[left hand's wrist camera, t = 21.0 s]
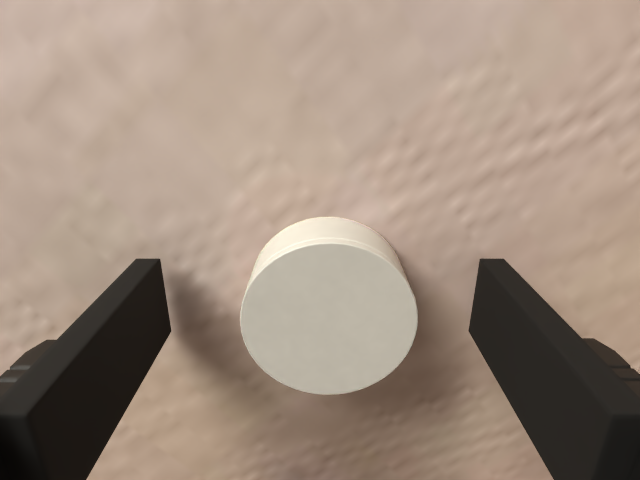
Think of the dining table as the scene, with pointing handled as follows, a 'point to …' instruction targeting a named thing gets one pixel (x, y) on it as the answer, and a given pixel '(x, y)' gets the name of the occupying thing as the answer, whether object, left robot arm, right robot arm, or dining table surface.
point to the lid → (328, 307)
